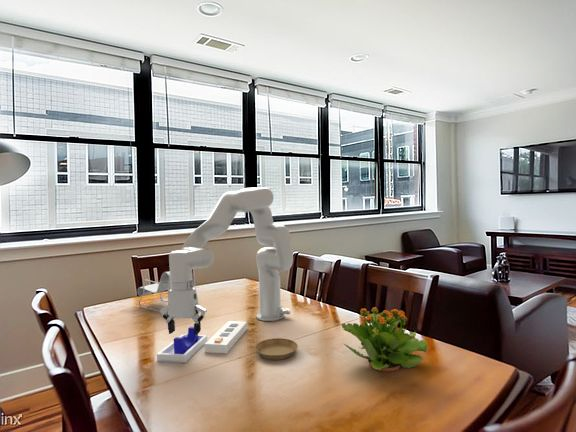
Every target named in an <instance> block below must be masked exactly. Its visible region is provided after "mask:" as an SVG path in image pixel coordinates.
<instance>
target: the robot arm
mask: <svg viewBox="0 0 576 432" xmlns="http://www.w3.org/2000/svg"><path fill="white" fill-rule="evenodd" d="M273 201H274V193H273V191H272V190H271V189H270V188H268V187H265V186H264V187H263V186H261V187H260V186H259V187H245V188H241V189H240V190H230V191H225V192H224V193H223V194H222V195H221V197H220V198H219V199H218V201H217V203H216V205H215V206H214V209H213V210H212V212H210V215H209V217H208V218H207V220H206V221H204V222H203V223H201V224H200V225H199V226H198V227H196V229H194V230H193V231H192V232H191V233H190V235H189V236H188V237H187V238H186V240H185V242H184V243H183V244H182V247H181V249H178V250H177V249H176V250H173V251H171V252H169V255H168V263H169V266H168V267H169V271H170V282H171V289H169V296H168V295H167V301H168V302H167V305H166V306H164V307H162V308H161V309H159V310H160V313H161V315H162V318H163V319H164V320H165V322H166V324H167V328H168V329H167V330H168V334H169V335H171V334H173V333H174V332H175V331H176V322H175V321H176V320H174V319H192V321H194V323H193V327H194V334H195V335H197V334H198V335H199V333H201V330H202V327H201V321H202V320H203V319H204V318H205V317H206V314H207V312H208V310H207V308H204V307H202V306H201V305H200V303H199V297H198V293H197V289H196V286H197V282H195V281H194V280H193V277H194V276H193V270H197V269H205V268H208V267H210V266H211V265H212V264H213V263H214V261H215V255H214V254H215V253H214V252H213V251H212V250H211V249H209V248H207V247H203V246H204V245H205V244H206V243H207V242H208V241H210V240H211V239H213V238H217V237H219V236H220V235H221V236H222V234H224V233H226V232H227V231H228V229H229V227H230V226H231V224H232V222H233V221H234V219H235V217H236V216H237V214H238V213H250V214H251V216H252V220H253V225H254V226H253V227H254V233H255V238H256V241H257V243H258V244H259V245H263V246H264V247H262V248H259V249H258V250H257V252H256V256H255V261H256V266H257V270H258V292H259V293H258V294H259V312H257V313H256V319H257V320H259V321H265V322H274V321H280V320H282V319H283V318H284V317H285V315H291V309H290V308H284V307H283V305H281V301H282V300H281V276H280V272H279V271H287V270H290V269H291V268H292V266H293V263H294V254H293V253H294V252H293V247H292V238H291V232H290V230H289V229H288V227H287V226H286V225H284V224H279V223H275V222H274V219H273V213H272V210H271V208H270V206H271V205H272V203H273ZM167 312H168V313H167ZM199 314H200V315H199Z"/></svg>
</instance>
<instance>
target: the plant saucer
mask: <svg viewBox="0 0 576 432" xmlns="http://www.w3.org/2000/svg"><path fill="white" fill-rule="evenodd" d="M297 349H298V344H297V342H296V341H294V340H292V339H288V338H281V337H276V338H267V339H264V340H261V341H259V342H257V344H255V347H254V350H255V351H256V352H257V353H258V354H259V355H260V357H262V358H264V359H267V360H273V361H274V360H275V361H278V360H283V359H284V360H285V359H286V358H289V357H290V356H292V355H294V353H295V352H296V351H297Z"/></svg>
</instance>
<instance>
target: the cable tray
mask: <svg viewBox="0 0 576 432" xmlns="http://www.w3.org/2000/svg"><path fill="white" fill-rule="evenodd" d="M187 334H188V333H187ZM187 334H186V333H182V334H180V335H179V336H178V337H180V338H183V337H184V336H185V335H187ZM207 341H208V335H207V334H198V342H196V343H195V344H194V345H193V346H192V347H191V348H190V349H189V350H188V351H187V352H185V353H184V354H174V340H173V341H172V342H170V343H169V344H168V345H166V347H164V348H162V349H161V350H159V352H157V354H156V362H160V363H161V362H162V363H176V364H186V363H187V362H188V361H189V360H190V359H191V358H192V357H193V356H194V355H195V354H196V353H197V352H198V351H199V350H201V349H202V348H203V347H205V343H206V342H207Z"/></svg>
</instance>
